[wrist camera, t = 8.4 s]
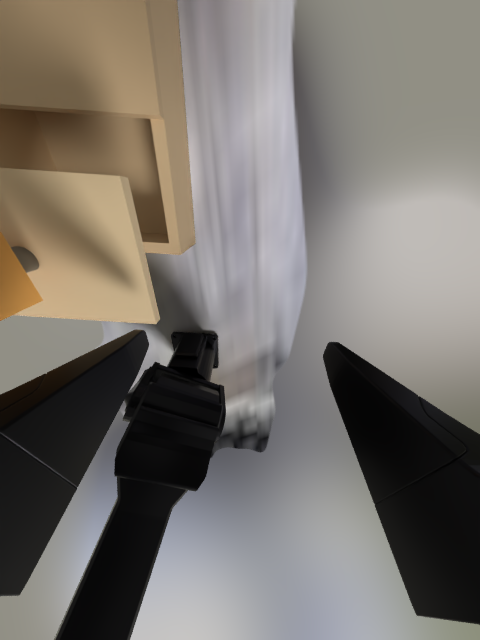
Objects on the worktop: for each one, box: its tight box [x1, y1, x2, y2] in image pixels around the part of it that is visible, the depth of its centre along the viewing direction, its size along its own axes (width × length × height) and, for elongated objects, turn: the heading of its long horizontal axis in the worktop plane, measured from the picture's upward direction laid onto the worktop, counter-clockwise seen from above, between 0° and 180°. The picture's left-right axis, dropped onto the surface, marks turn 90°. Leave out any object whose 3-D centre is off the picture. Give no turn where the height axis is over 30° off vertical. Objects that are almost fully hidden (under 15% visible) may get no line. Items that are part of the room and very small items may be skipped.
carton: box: [0, 0, 195, 255], centre depth 12 cm, size 15×12×6 cm
